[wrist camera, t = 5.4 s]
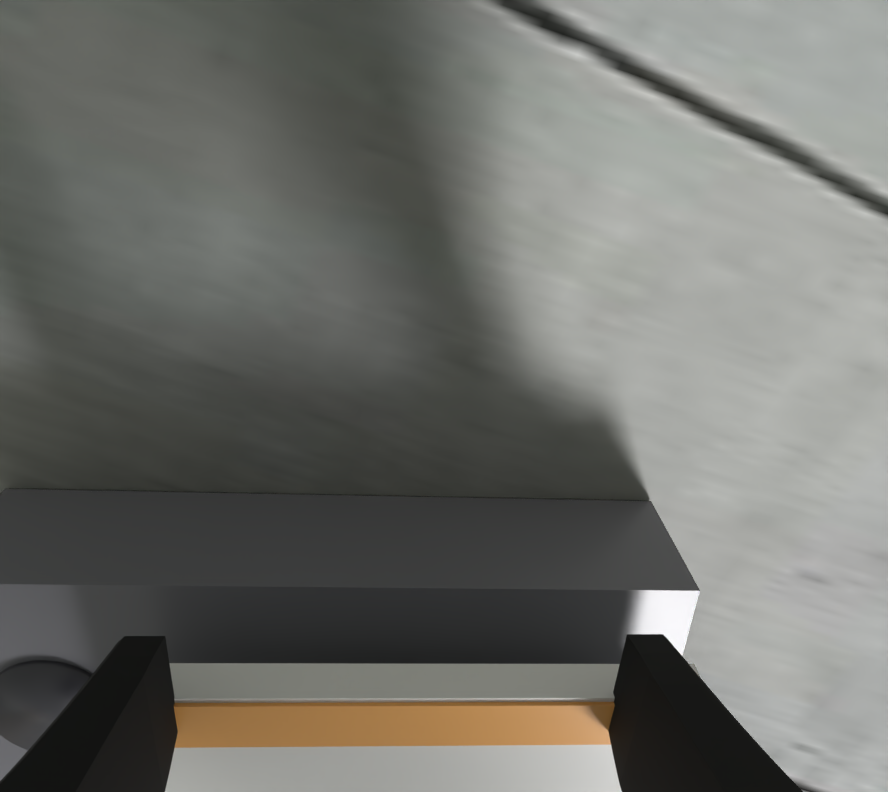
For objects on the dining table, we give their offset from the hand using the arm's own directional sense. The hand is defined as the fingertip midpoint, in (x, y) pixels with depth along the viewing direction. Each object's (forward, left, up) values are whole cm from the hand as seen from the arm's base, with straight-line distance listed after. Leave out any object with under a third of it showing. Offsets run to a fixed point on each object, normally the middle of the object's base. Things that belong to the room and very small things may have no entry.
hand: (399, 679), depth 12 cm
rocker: (-3, 0, -1) cm, 3 cm away
